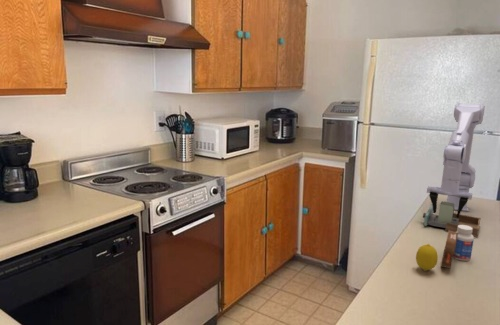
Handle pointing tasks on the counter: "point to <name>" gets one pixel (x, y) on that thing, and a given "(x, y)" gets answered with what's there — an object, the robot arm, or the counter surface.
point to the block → (446, 212)
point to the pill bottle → (464, 243)
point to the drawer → (435, 219)
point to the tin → (449, 249)
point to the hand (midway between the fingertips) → (446, 214)
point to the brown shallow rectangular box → (465, 220)
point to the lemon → (426, 257)
